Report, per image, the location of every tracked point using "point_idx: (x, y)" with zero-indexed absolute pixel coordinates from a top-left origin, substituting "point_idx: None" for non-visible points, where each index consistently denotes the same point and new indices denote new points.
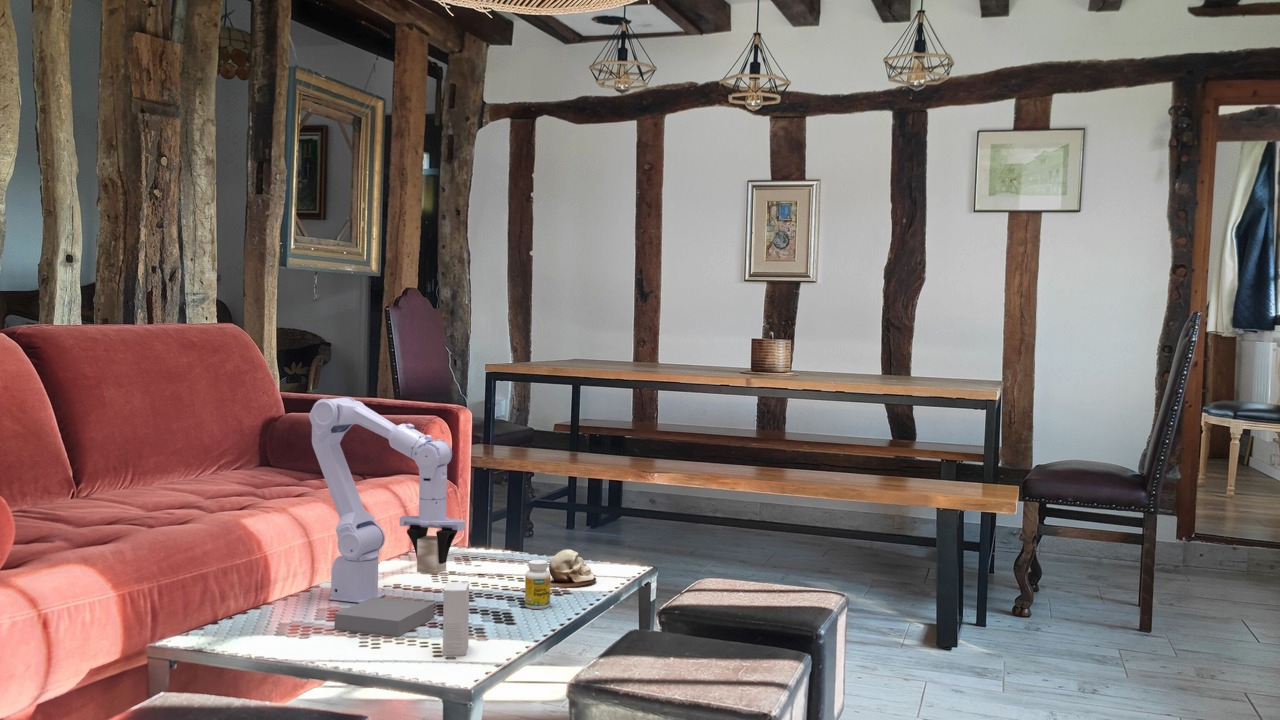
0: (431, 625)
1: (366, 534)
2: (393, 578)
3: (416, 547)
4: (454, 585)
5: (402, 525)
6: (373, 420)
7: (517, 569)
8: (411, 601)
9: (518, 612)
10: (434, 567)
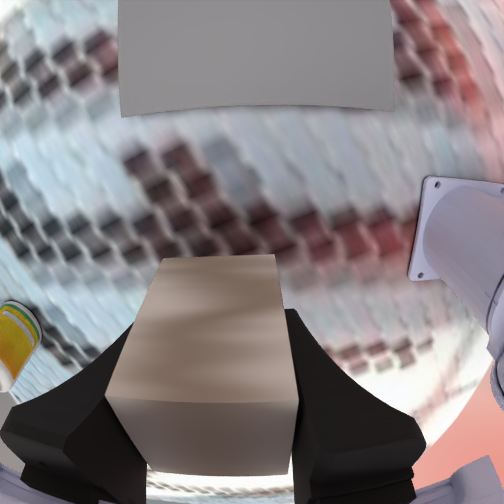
0: (105, 46)
1: None
2: (424, 386)
3: (308, 358)
4: None
5: (471, 466)
6: None
7: (228, 477)
8: (216, 97)
9: (12, 268)
10: (165, 275)
